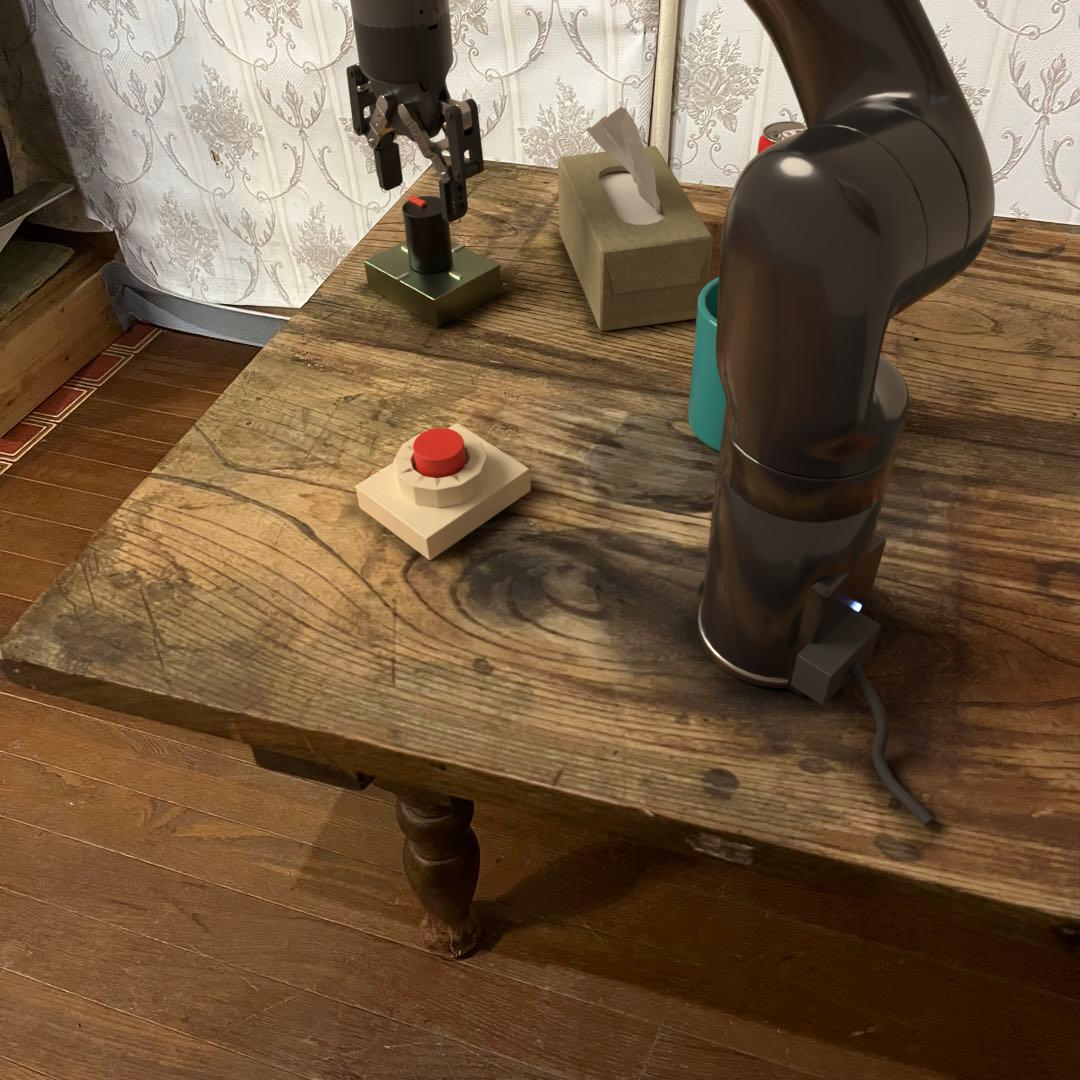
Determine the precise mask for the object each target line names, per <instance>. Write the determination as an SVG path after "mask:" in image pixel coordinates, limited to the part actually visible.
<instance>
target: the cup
mask: <svg viewBox="0 0 1080 1080" xmlns="http://www.w3.org/2000/svg"><path fill="white" fill-rule="evenodd" d="M718 287H719V276H718V277H716V278H714V279H713V280H711V281H709V283H708V284H707V285H706V286H705V287H704V288H703V289H702V291H701V292H700V294H699V297H698V305H697V316H696V319H695V328H694V330H695V331H694V339H693V351H692V361H691V373H690V383H689V394H688V395H689V396H688V404H687V405H688V406H687V408H688V409H687V421H688V424H689V427H690V430H691V431H692V432H693V433H692V434H694V435H695V437H696V438H697V439H698V440H699V441H700V442H701V443H703V444H704V445H706V446H707V447H709V448H710V449H712V450H714V451H717V452H718V453H720V445H721V436H722V428H723V420H724V411H725V401H726V398H725V394H724V391H723V387H722V384H721V381H720V377H719V373H718V368H717V361H716V331H717V309H718Z"/></svg>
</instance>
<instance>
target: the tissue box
mask: <svg viewBox="0 0 1080 1080" xmlns="http://www.w3.org/2000/svg"><path fill="white" fill-rule="evenodd" d="M585 130H586V132H587V133H588V135H590V137H591V138H592V139H593V140H594V142H595V143H597V145H598V146H599V147H600V148H601V149H603V150H604V151H599V152H590V153H581V154H574V155H573V154H572V155H564V156H563V155H562V156H559V157H558V158H557V176H558V177H557V179H558V181H557V182H558V183H557V184H558V227H559V229H558V231H559V235H560V238H561V240H562V242H563V245H564V247H565V250H566V253H567V254H568V257H569V259H570V261H571V264H572V266H573V269H574V272H575V274H576V276H577V278H578V280H579V284H580V285H581V288H582V291H583V293H584V295H585V298H586V300H587V302H588V305H589V307H590V310H591V312H592V314H593V315H592V316H593V317H594V319H595V322H596V325H597V327H598V330H599V331H601V332H607V331H614V330H623V329H629V328H631V329H632V328H636V327H645V326H652V325H659V324H660V325H661V324H667V323H675V322H681V321H687V320H696V316H697V305H698V297H699V294H700V292H701V291H702V289H703V288H704V287H705V286H706V285H707V284H708V283H709V282H710V275H711V265H712V255H713V243H714V236H713V235H712V233H711V232H710V230H709V228H708V227H707V225H706V224H705V222H704V221H703V219H702V216H701V215H700V214H699V213H698V211H697V209H696V208H695V206H694V204H693V203H692V201H691V199H690V198H689V196H688V195H687V193H686V192H685V190H684V189H683V187H682V185H681V184H680V182H679V181H678V179H677V177H676V176H675V174H674V173H673V171H672V169H671V167H670V166H669V165H668V162H666V159H665V157H664V156H663V155H662V153H661V152H660V150H659V148H658V147H657V146H656V145H650V146H645V145H644V143H643V141H642V138H641V134H640V132H639V129H638V126H637V124H636V122H635V120H634V119H633V117H632V116H631V115H630V113H629V111H628V109H627V107H622V106H620V107H618V108H617V109H615V110H613V112H612V113H610V114H609V115H608V116H606V115H604V116H602V117H601V118H600V119H599V120H598V121H597V122H596V123H595V124H594V125H593V126H591V127H588V128H585Z"/></svg>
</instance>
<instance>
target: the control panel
mask: <svg viewBox="0 0 1080 1080" xmlns="http://www.w3.org/2000/svg"><path fill="white" fill-rule="evenodd" d="M451 247H452V257H453V262H452V264H451V265H450V266H449V267H448V268H447V269H445V270H443V271H440V272H435V273H422V272H418V271H416V270H414V269H412V268H411V266H410V264H409V257H408V249H407V242H406V239H405V240H404V241H402V242H401V241H400V242H399V243H398V244H395V245H393V246H391V247H389V248H387V249H385V250H383V251H381V252H379V253H377V254H375V255H373V256H370V257H368V258H366V259H365V260H363V264H364V265H363V266H364V271H365V276H366V282H367V288H368V290H370V291H372V292H373V293H375V294H377V295H379V296H381V298H384V299H385V300H387V301H389V302H391V303H393V304H395V305H396V306H398V307H399V308H401V309H403V310H405V311H406V312H408V313H410V314H412V315H413V316H415V317H417V318H419V319H420V320H422V321H424V322H426V323H428V324H429V325H431V326H433V327H434V328H436V329H439V328H442V326H444V325H446V324H448V323H450V322H451V321H453V320H455V319H458V318H459V317H461V316H462V315H464V314H466V313H468V312H469V311H472V310H473V309H475V308H477V307H479V306H481V305H482V304H484V303H485V302H488V301H489V300H492V299H494V298H495V297H497V296H499V295H501V294H502V282H501V280H502V279H501V267H500V266H501V265H500V264H499V263H497V262H495V261H494V260H491V259H489V258H487V257H485V256H483V255H481V254H479V253H477V252H475V251H474V250H471V249H469V248H468V247H466V244H464V243H461V244H459V243H457V242H455V241H453V240H451Z"/></svg>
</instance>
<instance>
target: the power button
mask: <svg viewBox="0 0 1080 1080" xmlns="http://www.w3.org/2000/svg"><path fill="white" fill-rule="evenodd" d="M421 433H422V434H421ZM421 433H419V434H420V435H419V436H418V437H417V438H416V439H415V441H414V444H413V450H414V456H415V463H416V467H417V469H418V471H419V472H420V473H421V474H423V475H424V476H426V477H432V478H443V477H448V476H453V475H455V474H457V473H458V472H460V471H461V470H462V469H463V467H464V465H465V462H466V457H465V448H464V440H463V438H462V436H461V435H460V434H459V433H457V432H456V431H454V430H451V429H448V428H446V427H445V428H444V427H438V428H437V427H436V428H430V429H427V430H426V431H424V432H421Z"/></svg>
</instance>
